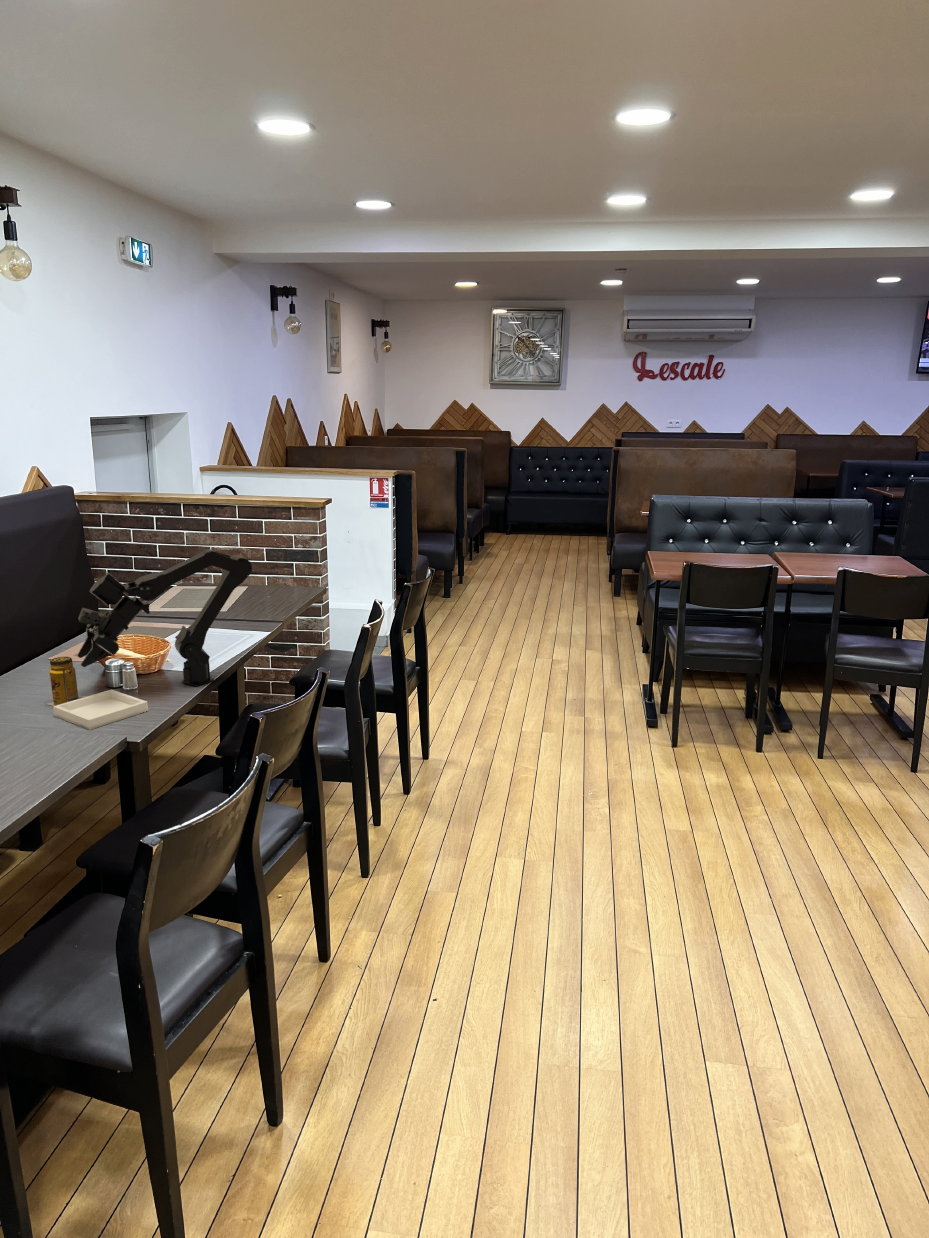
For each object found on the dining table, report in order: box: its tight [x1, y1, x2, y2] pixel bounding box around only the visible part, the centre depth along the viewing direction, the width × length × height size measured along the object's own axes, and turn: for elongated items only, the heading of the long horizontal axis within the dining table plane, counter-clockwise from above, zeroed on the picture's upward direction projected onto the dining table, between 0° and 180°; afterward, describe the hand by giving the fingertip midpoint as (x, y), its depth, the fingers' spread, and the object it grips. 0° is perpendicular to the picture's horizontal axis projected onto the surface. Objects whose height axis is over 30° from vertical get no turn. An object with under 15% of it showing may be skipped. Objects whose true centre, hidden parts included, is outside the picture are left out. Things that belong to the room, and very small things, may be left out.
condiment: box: [47, 656, 85, 707], centre depth 222 cm, size 7×8×12 cm
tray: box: [52, 689, 149, 731], centre depth 215 cm, size 16×16×2 cm
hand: (80, 661), depth 223 cm, fingers open, 9 cm apart
